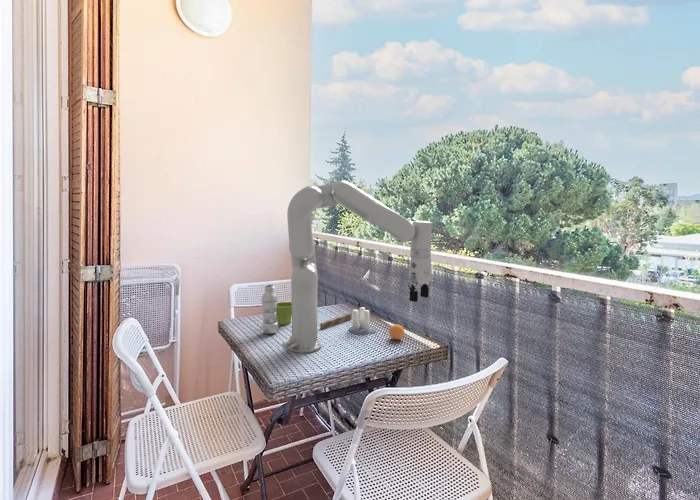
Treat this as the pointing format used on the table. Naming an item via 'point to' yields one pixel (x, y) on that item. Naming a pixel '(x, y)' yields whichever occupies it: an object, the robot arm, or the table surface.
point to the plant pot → (284, 313)
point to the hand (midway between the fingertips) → (419, 298)
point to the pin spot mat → (361, 332)
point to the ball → (396, 331)
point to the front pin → (366, 321)
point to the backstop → (335, 321)
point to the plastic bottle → (269, 310)
